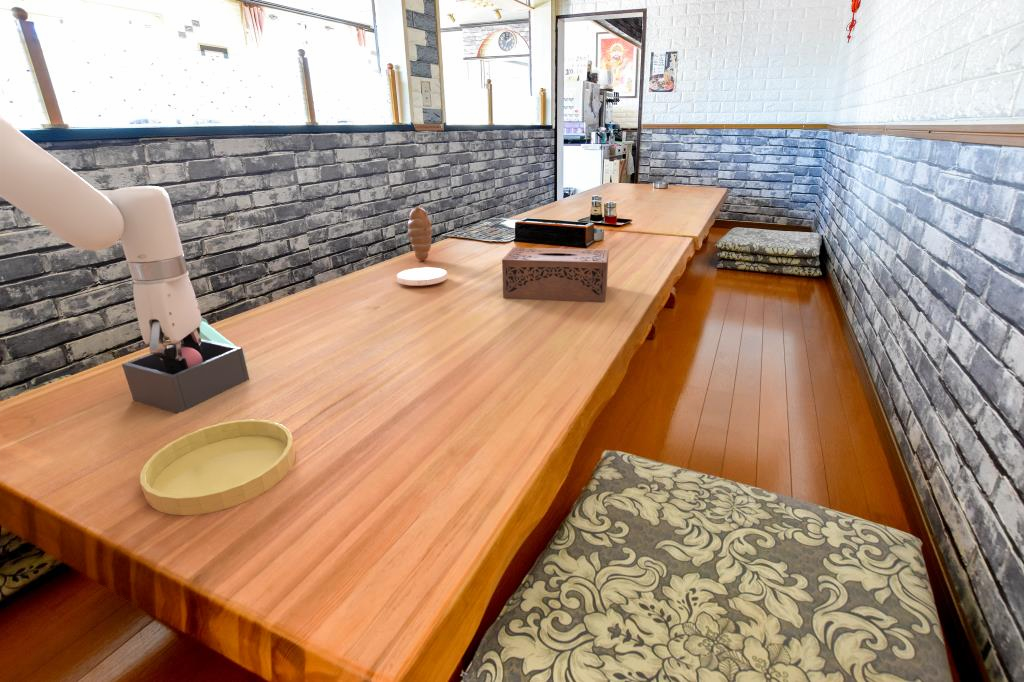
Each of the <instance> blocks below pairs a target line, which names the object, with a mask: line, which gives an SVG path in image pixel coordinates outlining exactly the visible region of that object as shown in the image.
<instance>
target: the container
mask: <svg viewBox="0 0 1024 682" xmlns="http://www.w3.org/2000/svg"><path fill="white" fill-rule="evenodd" d="M201 320H202V321H201V325H200V334H199V336H200V338H201V339H203V340H208V341H212V342H217V343H222V344H227V345H231V346H236V344H234V343H233V342H231V341H230V340H229V339H227V338H226V337H225V336H223V335H222V334H221V333H220V332H218V331H217V330H216V329H215V328H214V327H212V326H211V325H210V324H209V323H208V320H207V319H205V318H203V317H201ZM243 354H244V358H245V363H246V364H247V359H246V356H245V352H244V351H243Z"/></svg>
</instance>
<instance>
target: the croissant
mask: <svg viewBox="0 0 1024 682" xmlns="http://www.w3.org/2000/svg"><path fill="white" fill-rule="evenodd" d="M407 228H408V229H407V235H408V237H409V242H410V244H411V249H412V251H413V252H414V256H415V258H416V259H417V260H418V261H420V262H424V261H426V260H428V257H429V252H430V251H431V248H432V245H431V244H432V235H433V229H432V221H431V219H430V217H429V213H428V211H426V209H424V208H423V206H422V204H420V205H419V206H416V207H414V208H412V209H411V210H410V212H409V220H408V221H407Z"/></svg>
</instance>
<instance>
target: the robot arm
mask: <svg viewBox="0 0 1024 682" xmlns="http://www.w3.org/2000/svg"><path fill="white" fill-rule="evenodd" d="M0 198H1V199H3V200H4V201H6V202H8V203H9V204H11V205H12V206H14V207H15V208H16V209H18V210H19V211H21V212H22V213H24V214H25V215H27V216H29V217H30V218H31V219H33V220H34V221H36V222H37V223H38V224H40V225H42V226H43V227H44V228H46V229H48V230H49V231H50V232H51V233H52V234H54V235H55V236H56V237H58V238H60V239H61V240H62V241H65V242H66V243H67V244H69V245H70V246H73V247H75V248H77V249H81V250H85V251H101V250H106V249H108V248H110V247H112V246H114V245H116V243H118V242H119V241H120V242H121V246H122V250H123V252H124V257H125V259H126V262H127V266H128V270H129V273H130V276H131V279H132V282H133V284H132V295H133V301H134V307H135V312H136V317H137V322H138V326H139V330H140V334H141V338H142V340H143V343H144V344H145V345H148V346H149V354H151V353H152V354H155V355H157V356H158V357H160V359H161V361H162V362H163V361H164V364H165V368H166V371H167V373H169V374H172V375H174V374H176V373H178V372H181V371H183V370H186V369H188V365H187V362H186V358H182V351H181V348H182V347H189V348H193V349H195V350H197V351H198V352H199V353H200V354H201V356H202V359H203V362H205V359H204V356H203V352H202V348H201V345H200V344H201V338H200V336H199V334H200V325H201V321H202V320H201V318H202V315H201V310H200V306H199V302H198V299H197V296H196V293H195V290H194V287H193V284H192V282H191V279H190V276H189V275H190V272H189V269H188V265H187V261H186V257H185V254H184V253H185V252H184V249H183V244H182V241H181V237H180V234H179V230H178V226H177V221H176V218H175V214H174V211H173V207H172V203H171V199H170V196H169V194H168V192H167V191H166V190H165V189H164V188H163V187H161V186H156V185H136V186H124V187H119V188H115V189H112V190H111V189H106V190H105V189H96V188H94V187H93V186H92V185H91V184H90V183H88V182H87V181H86V180H84V179H83V178H82V177H81V176H79V175H78V174H77V173H76V172H74V170H72V169H70V168H69V167H68V166H67V165H65V164H64V163H62V162H61V161H60V160H59V159H57V158H56V157H55V156H53V155H52V154H50V153H49V152H48V151H46V150H45V149H44V148H42V147H41V146H40V145H38V144H37V143H36V142H34V141H33V140H31V139H30V138H29V137H28V136H26V135H25V134H24V133H23V132H21V130H19V129H18V128H17V127H16V126H15V125H13V124H12V123H11V122H9V121H8V120H7V119H6V118H4V117H3V116H1V115H0ZM165 339H169V340H165ZM180 342H181V343H180ZM181 344H182V345H183V346H181ZM172 345H173V348H174V351H173V350H171V349H170V348H167V347H169V346H172ZM198 345H199V346H198Z"/></svg>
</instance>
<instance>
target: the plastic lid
mask: <svg viewBox="0 0 1024 682" xmlns="http://www.w3.org/2000/svg"><path fill="white" fill-rule="evenodd" d="M447 279H448V272H447V270H445V269H443V268H440V267H429V266H428V267H425V266H424V267H415V268H414V267H413V268H408V269H405V270H402V271H399V272H398V273H397V274H396V280H397V283H399V284H401V285H404V286H412V287H413V286H421V287H422V286H429V285H430V286H431V285H435V284H440V283H442V282H444V281H445V280H447Z"/></svg>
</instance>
